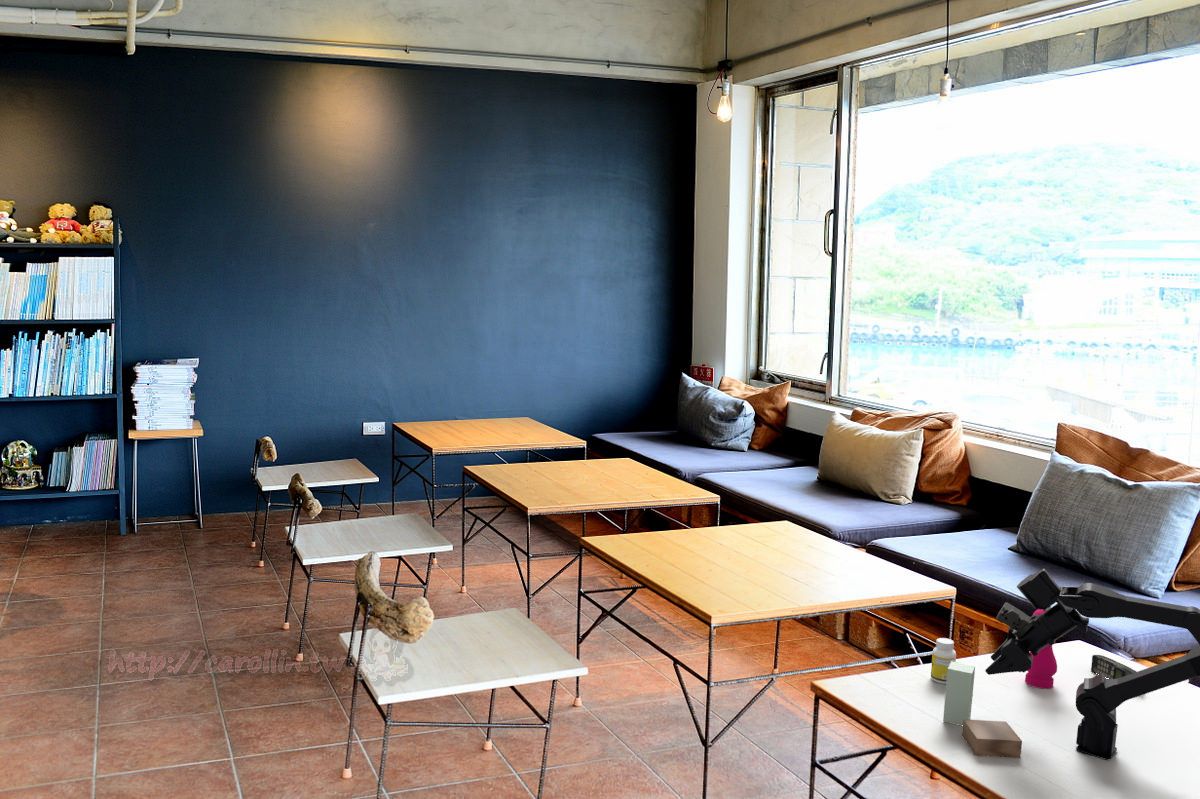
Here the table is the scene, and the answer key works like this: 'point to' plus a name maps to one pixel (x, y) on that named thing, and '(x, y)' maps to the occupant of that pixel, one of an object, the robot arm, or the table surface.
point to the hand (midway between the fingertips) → (989, 665)
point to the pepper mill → (1042, 665)
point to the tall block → (958, 692)
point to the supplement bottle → (942, 659)
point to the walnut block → (991, 738)
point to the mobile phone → (1109, 667)
